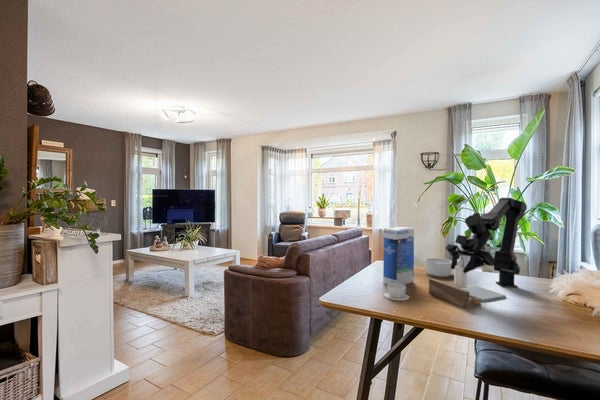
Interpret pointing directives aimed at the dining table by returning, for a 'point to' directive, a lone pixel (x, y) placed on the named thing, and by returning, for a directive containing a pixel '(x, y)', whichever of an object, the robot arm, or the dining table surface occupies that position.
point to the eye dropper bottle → (460, 274)
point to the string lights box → (398, 255)
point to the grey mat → (483, 293)
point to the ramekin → (438, 267)
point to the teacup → (396, 292)
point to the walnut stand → (452, 294)
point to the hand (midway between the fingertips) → (457, 270)
